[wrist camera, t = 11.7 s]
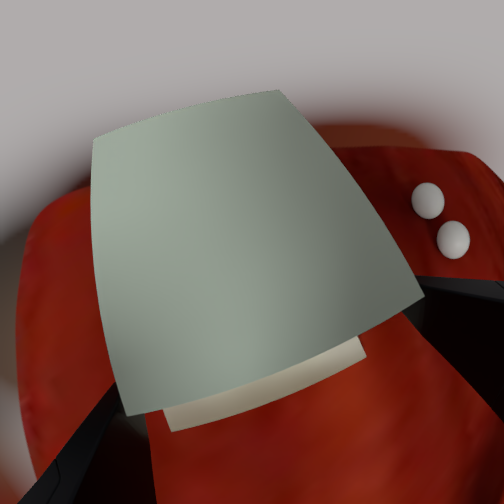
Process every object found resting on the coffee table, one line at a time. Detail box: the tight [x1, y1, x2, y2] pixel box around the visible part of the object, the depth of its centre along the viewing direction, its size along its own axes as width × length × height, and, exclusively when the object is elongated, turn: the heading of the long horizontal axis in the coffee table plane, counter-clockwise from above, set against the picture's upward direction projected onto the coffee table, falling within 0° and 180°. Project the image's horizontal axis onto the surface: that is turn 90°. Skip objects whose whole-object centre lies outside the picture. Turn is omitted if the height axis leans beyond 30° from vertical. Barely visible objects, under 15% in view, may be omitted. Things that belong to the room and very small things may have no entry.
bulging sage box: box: [91, 90, 424, 416], centre depth 11 cm, size 9×7×10 cm
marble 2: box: [437, 221, 470, 259], centre depth 17 cm, size 3×3×3 cm
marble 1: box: [412, 183, 444, 219], centre depth 19 cm, size 3×3×3 cm
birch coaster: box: [163, 336, 366, 432], centre depth 16 cm, size 12×12×1 cm
